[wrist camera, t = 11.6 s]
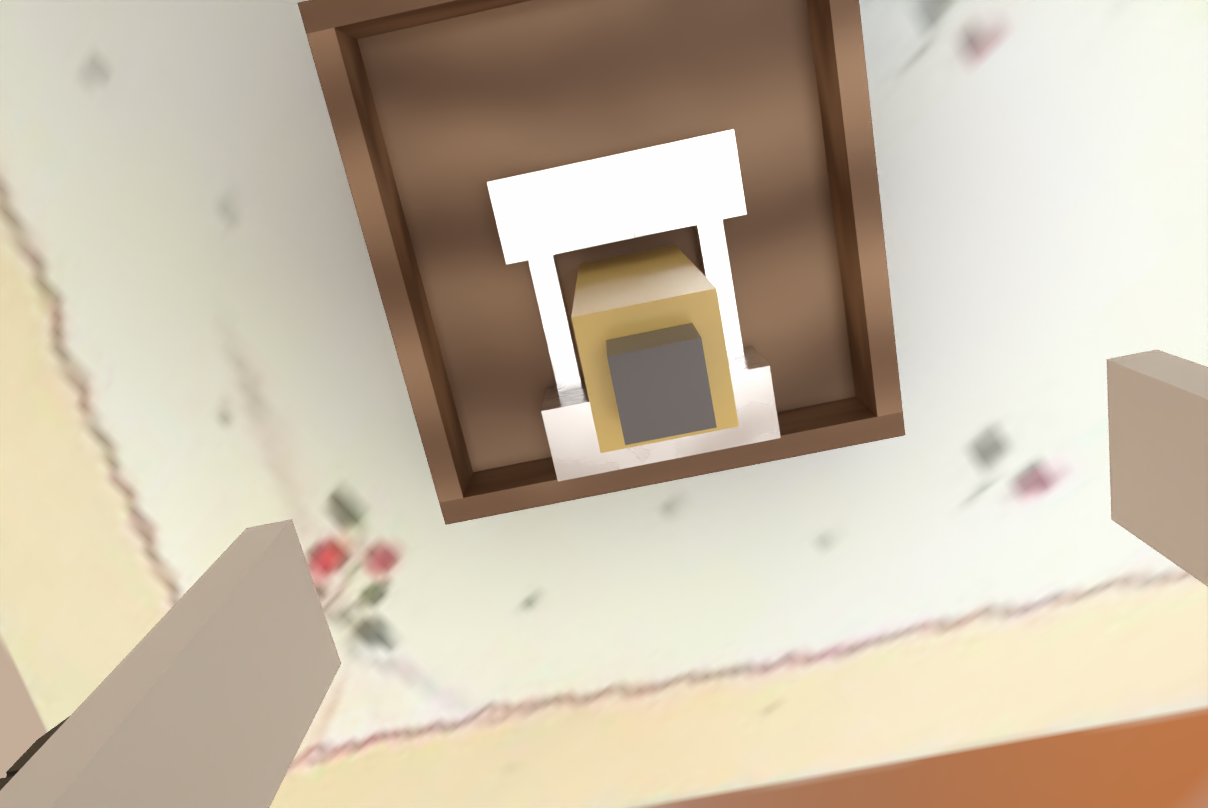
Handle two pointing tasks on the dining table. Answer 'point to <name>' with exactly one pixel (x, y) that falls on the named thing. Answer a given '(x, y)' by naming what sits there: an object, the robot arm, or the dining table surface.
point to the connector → (651, 349)
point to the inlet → (618, 212)
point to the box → (590, 131)
